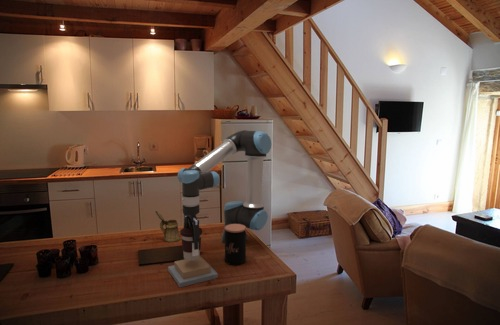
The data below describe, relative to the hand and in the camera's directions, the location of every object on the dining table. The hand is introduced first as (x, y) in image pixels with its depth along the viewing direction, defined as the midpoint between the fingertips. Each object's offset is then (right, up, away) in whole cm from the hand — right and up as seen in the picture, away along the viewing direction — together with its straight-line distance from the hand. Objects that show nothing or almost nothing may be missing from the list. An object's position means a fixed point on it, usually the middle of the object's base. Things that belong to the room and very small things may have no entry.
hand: (191, 251), depth 161 cm
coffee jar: (+19, -9, +16) cm, 27 cm away
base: (0, -11, +2) cm, 11 cm away
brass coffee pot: (-21, -4, +43) cm, 48 cm away
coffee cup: (0, -3, 0) cm, 3 cm away
